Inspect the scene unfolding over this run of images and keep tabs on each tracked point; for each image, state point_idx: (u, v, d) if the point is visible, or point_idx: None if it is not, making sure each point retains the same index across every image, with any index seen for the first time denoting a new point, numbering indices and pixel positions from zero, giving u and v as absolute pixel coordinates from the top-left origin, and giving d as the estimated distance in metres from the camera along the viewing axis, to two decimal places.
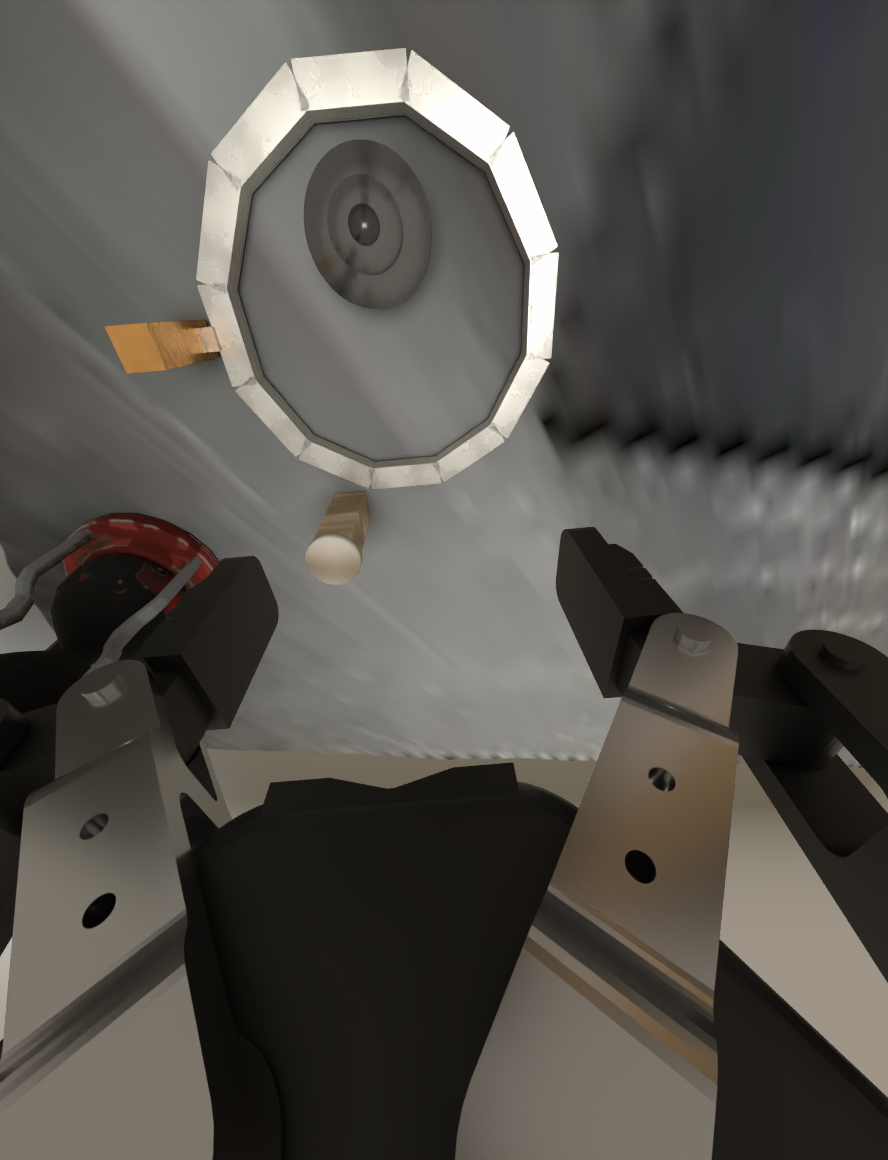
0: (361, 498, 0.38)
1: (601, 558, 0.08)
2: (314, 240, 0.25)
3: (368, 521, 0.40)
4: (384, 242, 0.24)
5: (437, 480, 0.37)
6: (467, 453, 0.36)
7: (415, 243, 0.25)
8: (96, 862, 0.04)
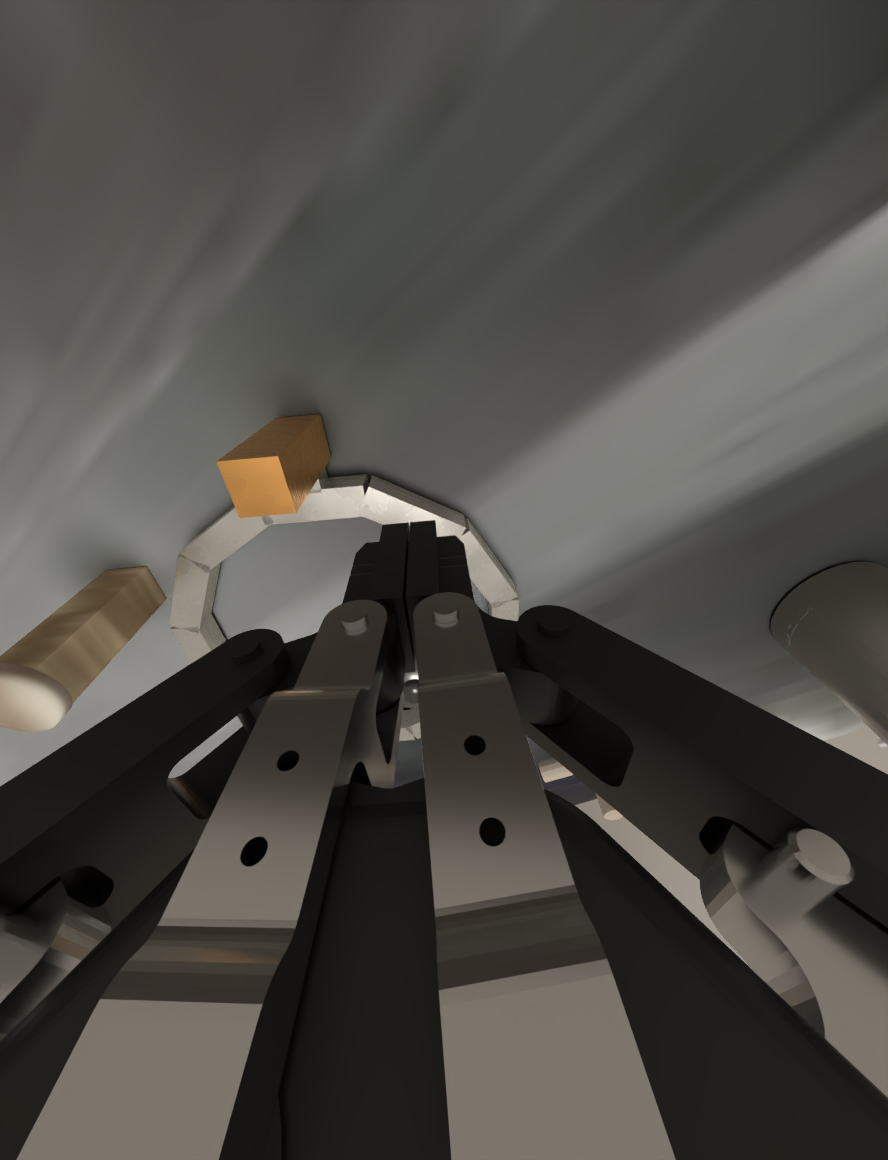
0: (152, 613, 0.29)
1: (421, 547, 0.09)
2: None
3: None
4: None
5: None
6: None
7: None
8: (273, 799, 0.04)
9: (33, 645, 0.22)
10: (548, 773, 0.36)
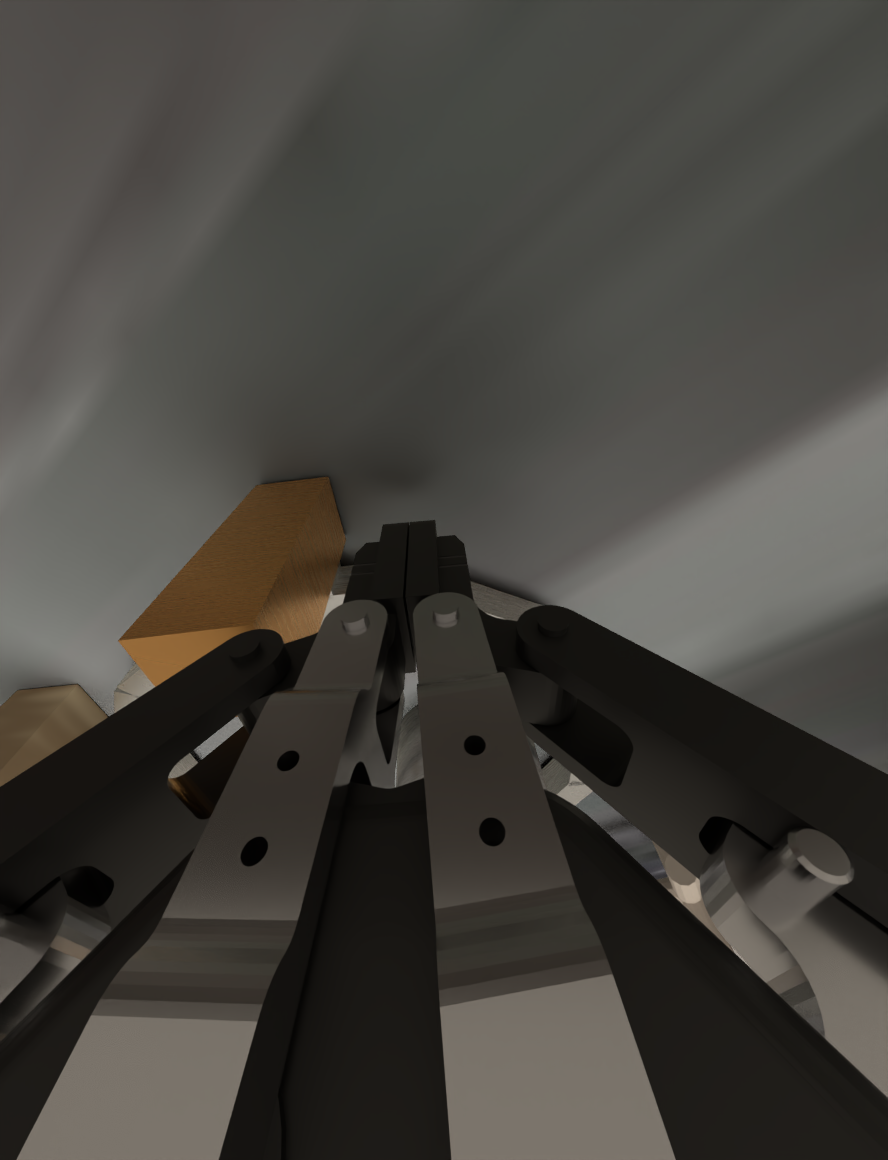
0: None
1: (421, 547, 0.09)
2: None
3: None
4: None
5: None
6: None
7: None
8: (273, 799, 0.04)
9: None
10: None
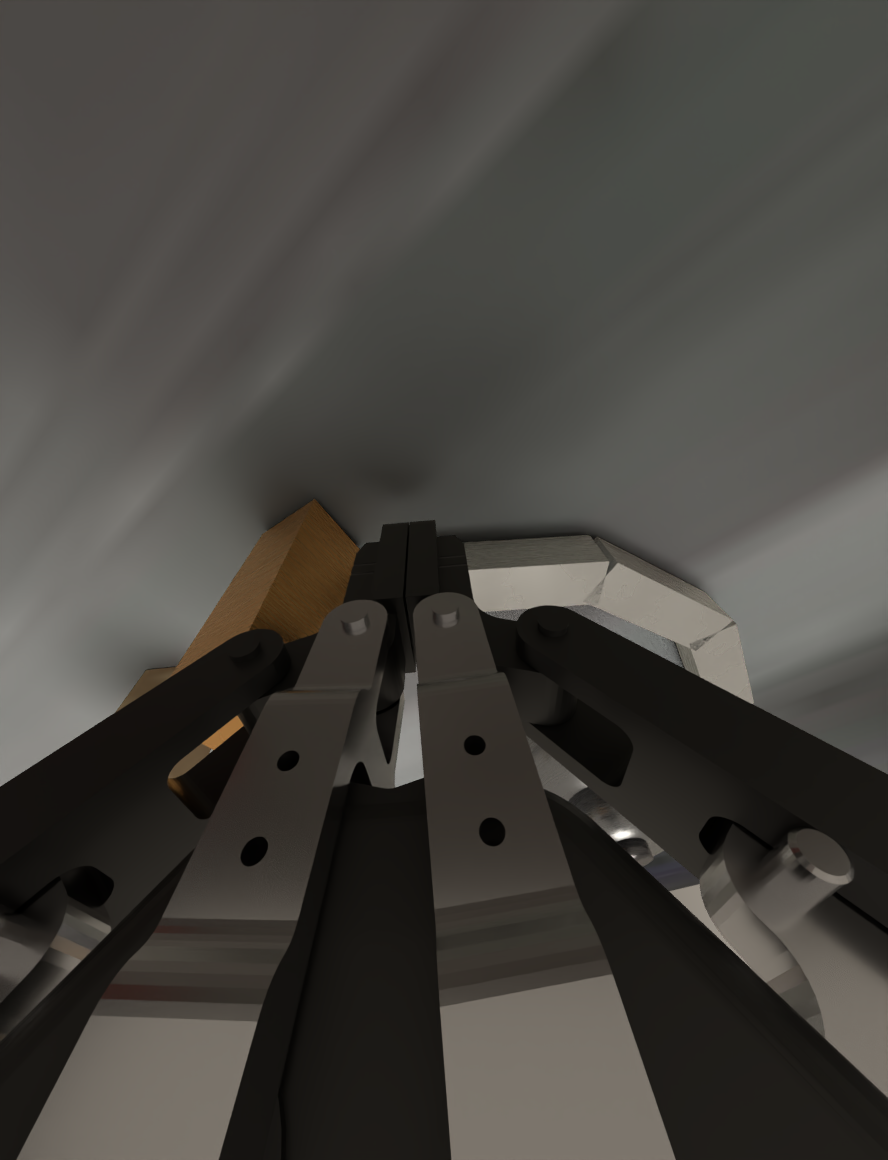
0: None
1: (421, 547, 0.09)
2: None
3: None
4: None
5: None
6: None
7: None
8: (273, 799, 0.04)
9: None
10: None
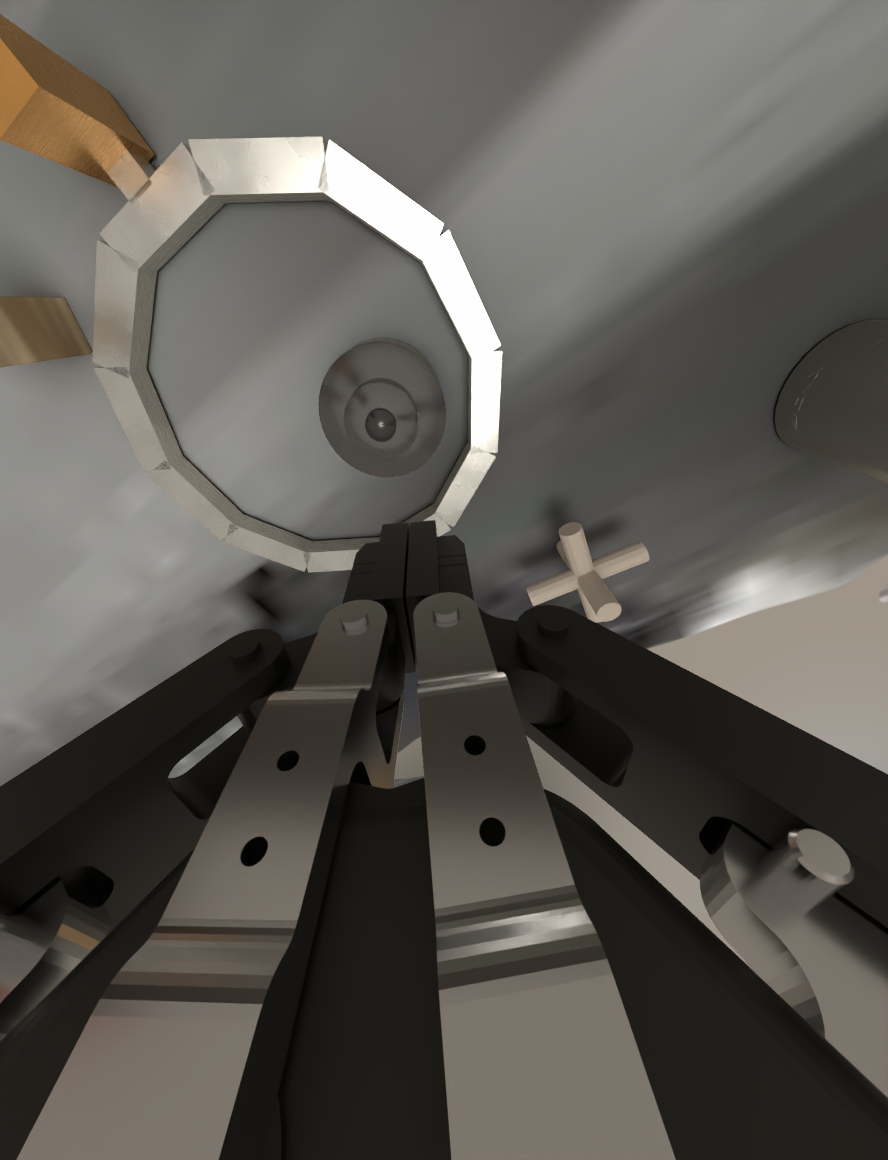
0: (72, 354, 0.24)
1: (421, 547, 0.09)
2: (371, 353, 0.23)
3: None
4: (370, 442, 0.24)
5: (220, 535, 0.32)
6: (268, 548, 0.33)
7: (378, 461, 0.27)
8: (273, 799, 0.04)
9: None
10: (536, 592, 0.33)
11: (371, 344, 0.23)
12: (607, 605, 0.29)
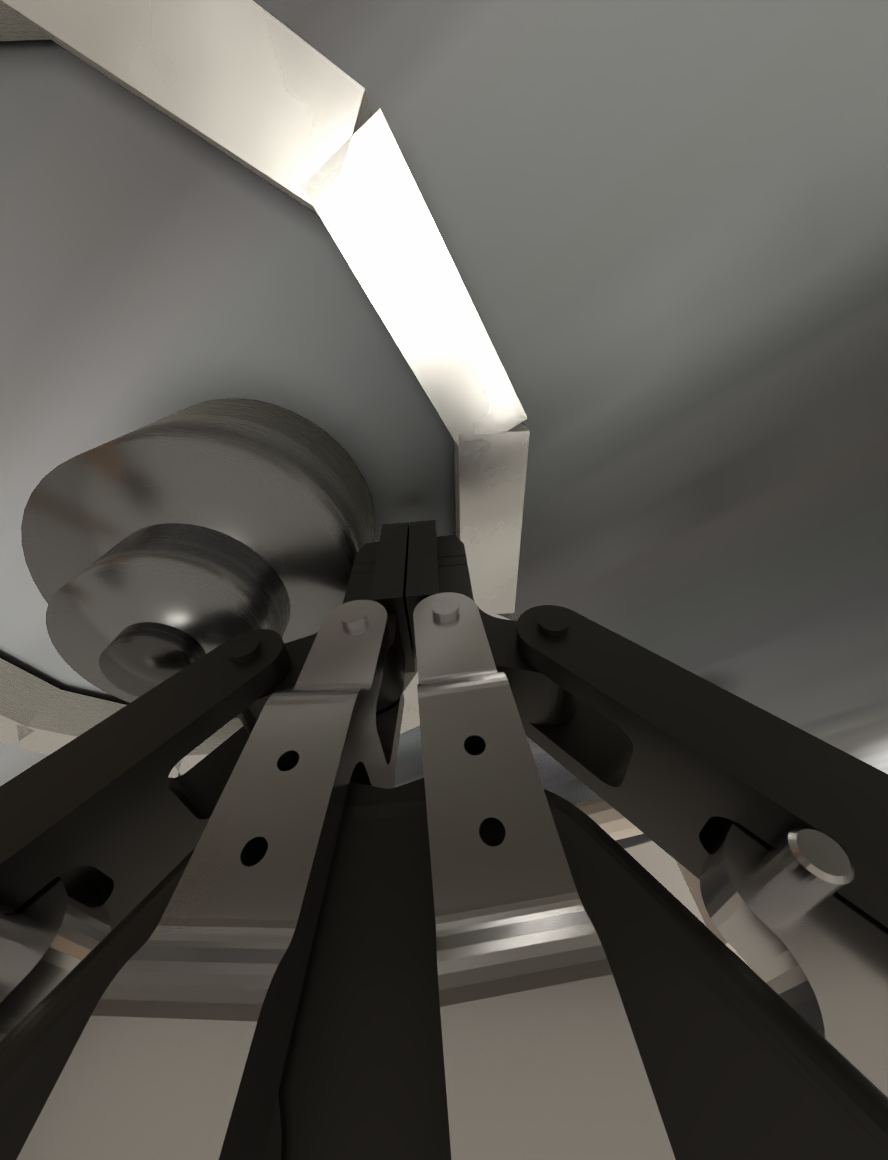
0: None
1: (421, 547, 0.09)
2: (125, 469, 0.08)
3: None
4: None
5: (6, 740, 0.17)
6: None
7: None
8: (273, 799, 0.04)
9: None
10: None
11: (120, 447, 0.08)
12: None
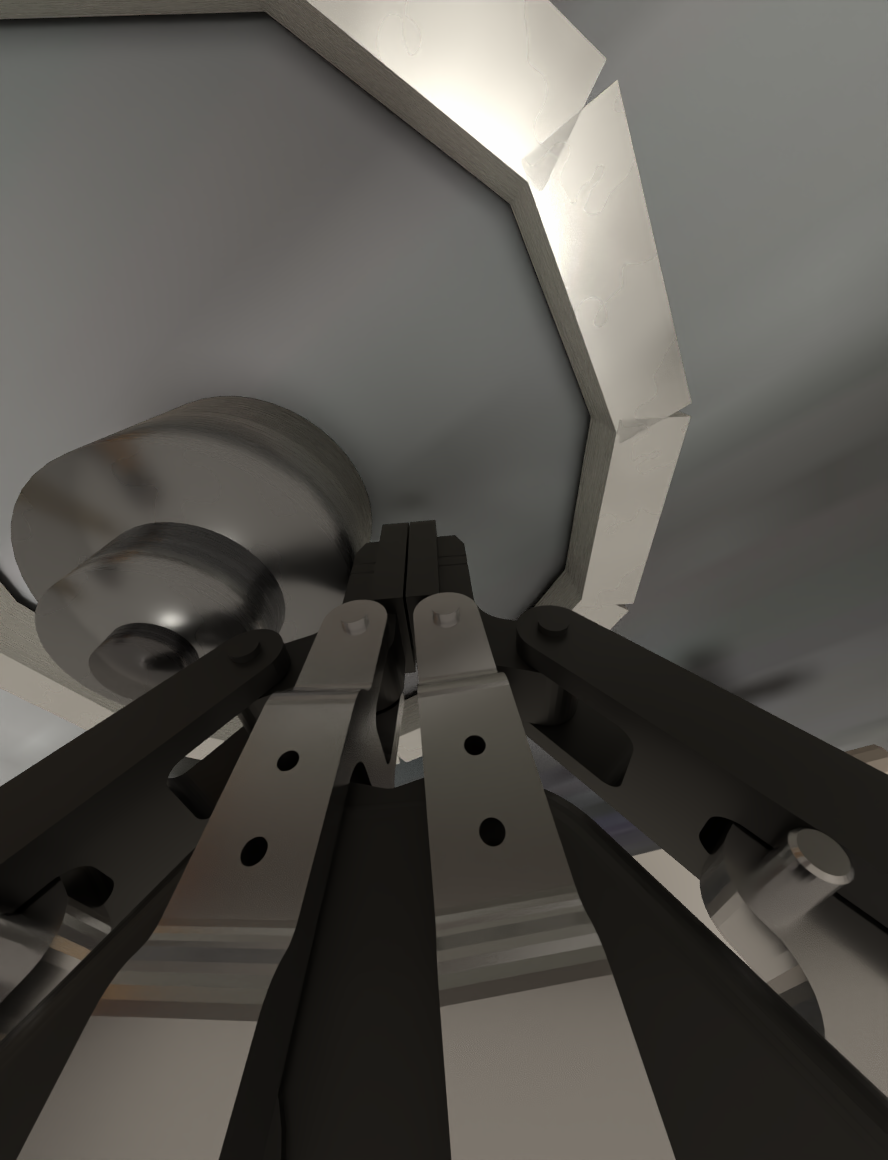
0: None
1: (421, 547, 0.09)
2: (118, 466, 0.08)
3: None
4: None
5: None
6: None
7: None
8: (273, 799, 0.04)
9: None
10: None
11: (113, 444, 0.08)
12: None
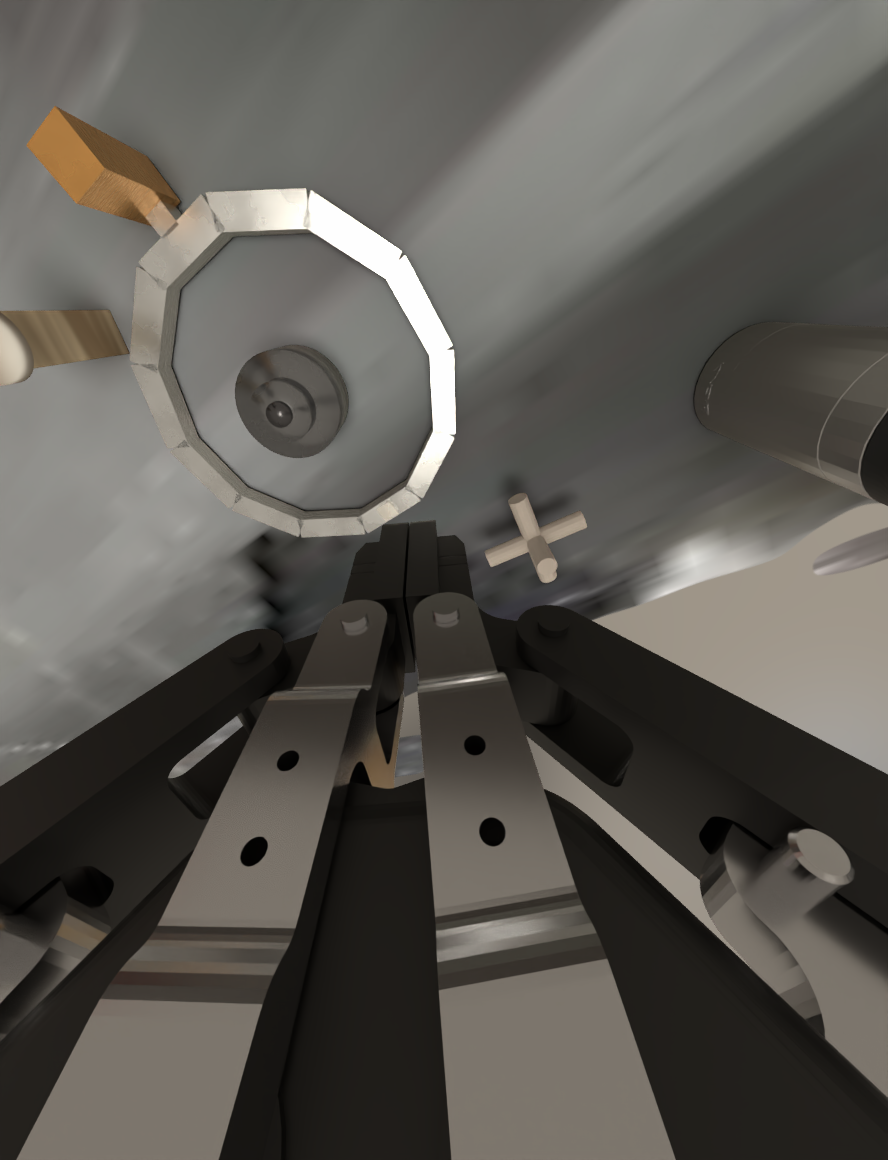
0: (114, 354, 0.31)
1: (421, 547, 0.09)
2: (272, 357, 0.29)
3: None
4: (274, 428, 0.30)
5: (228, 504, 0.38)
6: (268, 515, 0.39)
7: (288, 445, 0.33)
8: (273, 799, 0.04)
9: None
10: (492, 554, 0.39)
11: (272, 351, 0.29)
12: (545, 560, 0.35)
